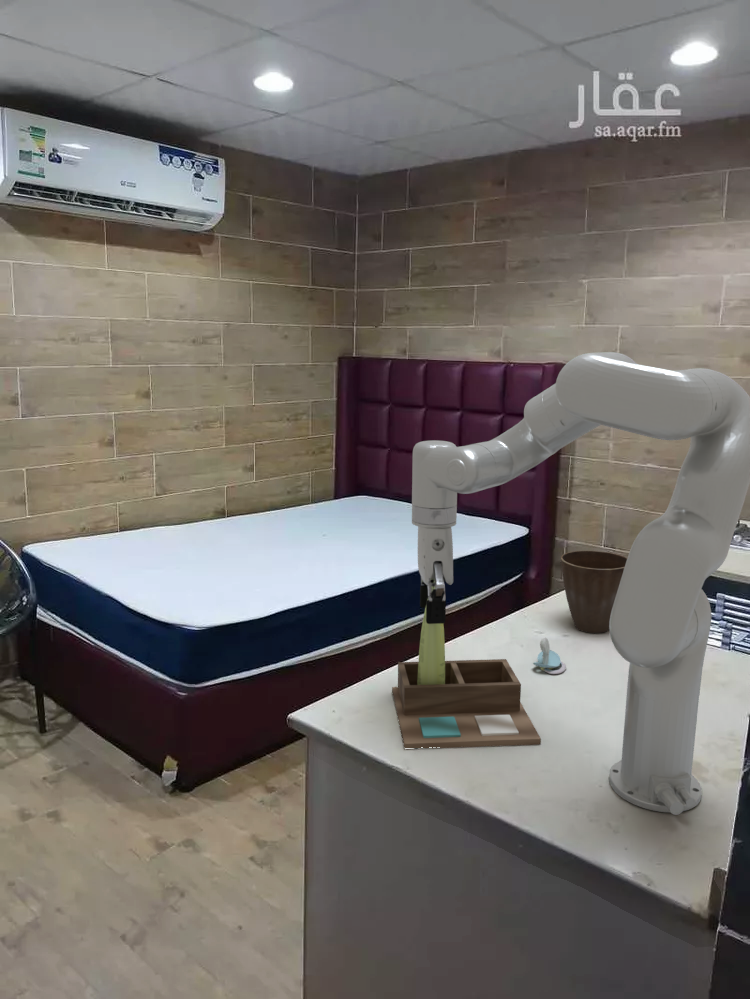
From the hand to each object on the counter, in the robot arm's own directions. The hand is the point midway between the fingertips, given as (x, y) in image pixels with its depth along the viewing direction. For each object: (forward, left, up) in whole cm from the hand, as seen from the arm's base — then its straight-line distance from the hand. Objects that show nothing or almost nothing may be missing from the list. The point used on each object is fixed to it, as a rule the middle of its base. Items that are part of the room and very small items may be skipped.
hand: (432, 614), depth 132 cm
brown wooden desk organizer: (-4, -5, -17) cm, 18 cm away
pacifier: (+14, -26, -17) cm, 34 cm away
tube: (0, 0, -14) cm, 14 cm away
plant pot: (+35, -42, -17) cm, 57 cm away
